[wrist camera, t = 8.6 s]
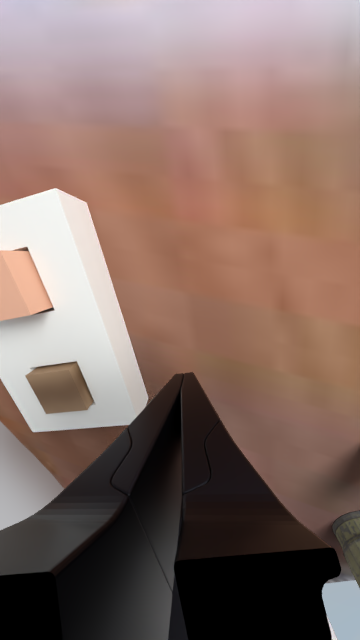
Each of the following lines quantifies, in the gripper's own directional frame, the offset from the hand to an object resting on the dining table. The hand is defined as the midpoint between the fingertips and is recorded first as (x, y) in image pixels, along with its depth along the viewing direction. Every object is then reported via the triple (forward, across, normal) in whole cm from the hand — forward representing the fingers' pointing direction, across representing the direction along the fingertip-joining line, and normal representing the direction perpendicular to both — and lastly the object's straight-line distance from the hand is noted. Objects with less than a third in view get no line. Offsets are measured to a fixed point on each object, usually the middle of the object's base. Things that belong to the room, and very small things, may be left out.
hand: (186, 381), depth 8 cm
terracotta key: (+10, +15, -6) cm, 19 cm away
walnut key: (+11, +15, +5) cm, 19 cm away
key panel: (+12, +15, 0) cm, 19 cm away
